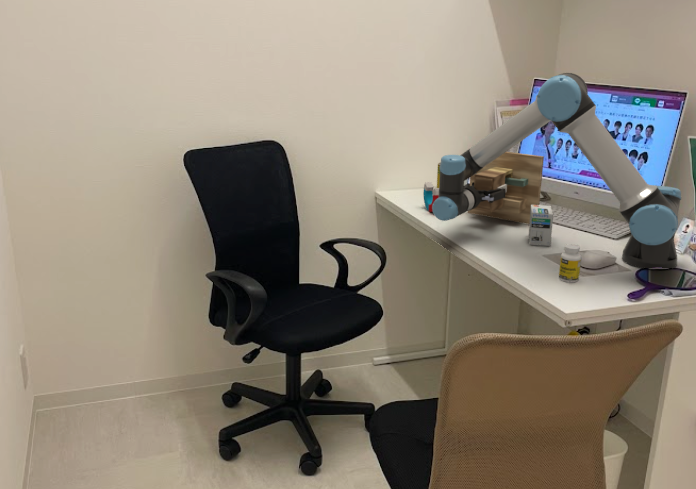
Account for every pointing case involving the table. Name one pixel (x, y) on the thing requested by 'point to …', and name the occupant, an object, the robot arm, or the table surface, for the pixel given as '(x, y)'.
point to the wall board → (517, 186)
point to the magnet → (430, 195)
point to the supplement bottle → (570, 263)
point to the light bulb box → (540, 225)
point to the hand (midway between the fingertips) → (495, 186)
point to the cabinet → (491, 185)
